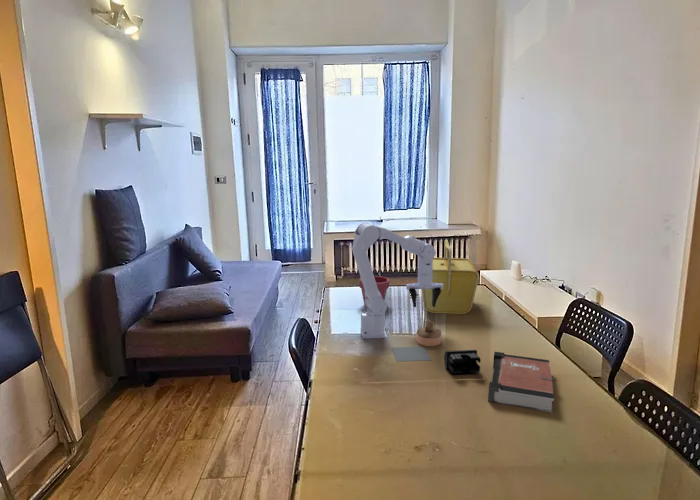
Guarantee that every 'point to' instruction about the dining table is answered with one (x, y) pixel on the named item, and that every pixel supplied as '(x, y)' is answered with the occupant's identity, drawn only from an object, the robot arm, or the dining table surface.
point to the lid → (429, 331)
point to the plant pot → (381, 285)
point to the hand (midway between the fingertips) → (424, 306)
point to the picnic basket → (452, 284)
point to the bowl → (428, 340)
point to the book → (521, 382)
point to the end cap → (462, 362)
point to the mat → (410, 354)
